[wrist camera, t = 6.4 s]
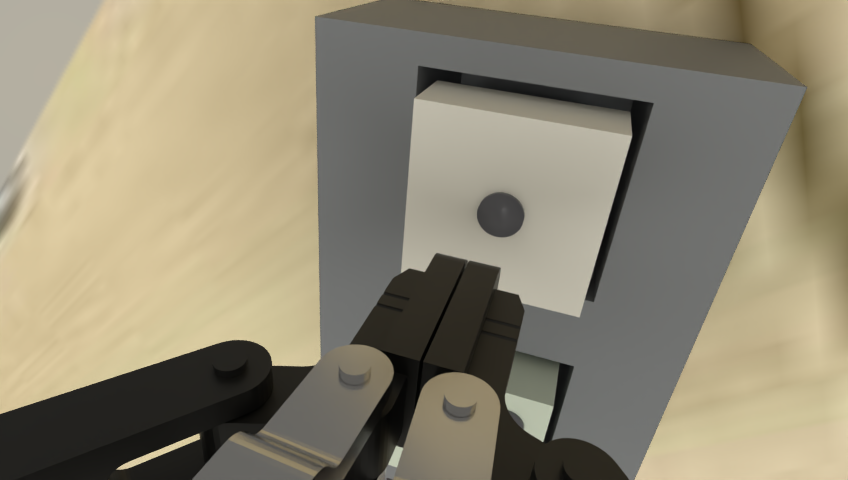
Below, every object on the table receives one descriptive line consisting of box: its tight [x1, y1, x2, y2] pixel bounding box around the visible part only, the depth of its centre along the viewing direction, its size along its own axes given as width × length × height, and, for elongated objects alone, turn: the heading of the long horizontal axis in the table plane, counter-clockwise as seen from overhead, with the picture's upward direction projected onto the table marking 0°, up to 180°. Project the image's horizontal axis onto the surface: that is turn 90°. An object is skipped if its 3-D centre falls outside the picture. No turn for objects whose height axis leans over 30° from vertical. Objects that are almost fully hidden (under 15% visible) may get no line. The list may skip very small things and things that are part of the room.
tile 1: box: [401, 80, 632, 317], centre depth 18 cm, size 6×6×4 cm
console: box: [315, 0, 807, 480], centre depth 26 cm, size 14×29×7 cm, turn 175°
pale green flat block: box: [388, 351, 560, 467], centre depth 23 cm, size 6×6×4 cm
